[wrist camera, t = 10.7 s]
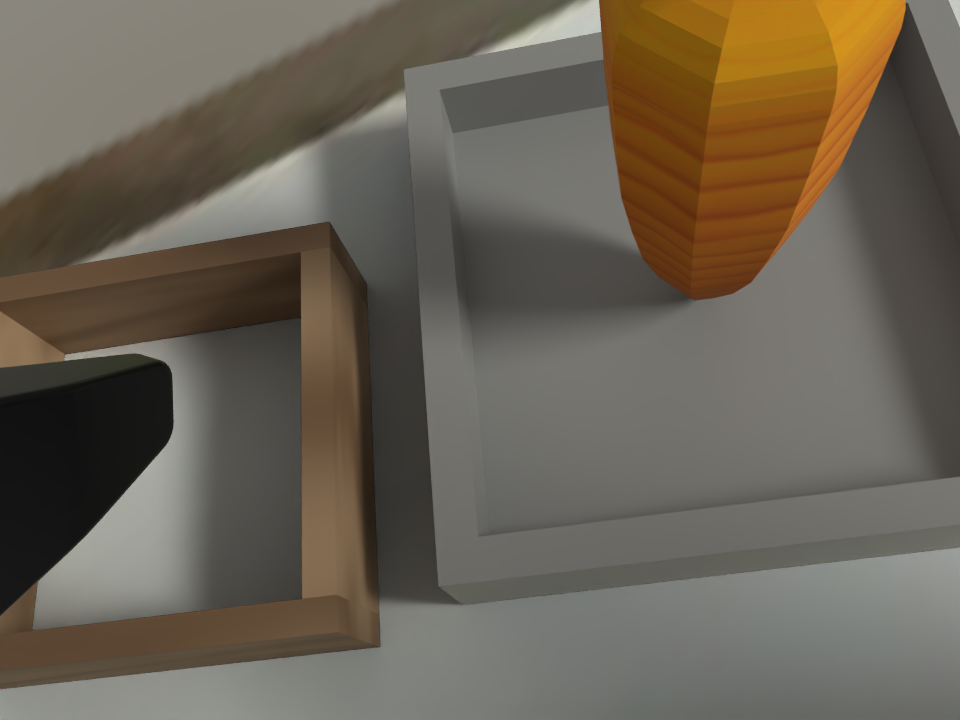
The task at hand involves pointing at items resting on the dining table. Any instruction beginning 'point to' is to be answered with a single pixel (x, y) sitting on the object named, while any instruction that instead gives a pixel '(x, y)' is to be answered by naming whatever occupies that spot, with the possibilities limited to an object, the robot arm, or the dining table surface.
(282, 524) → the dining table surface
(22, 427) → the robot arm
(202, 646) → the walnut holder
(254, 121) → the dining table surface
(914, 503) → the grey tray
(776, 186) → the carrot
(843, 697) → the dining table surface
